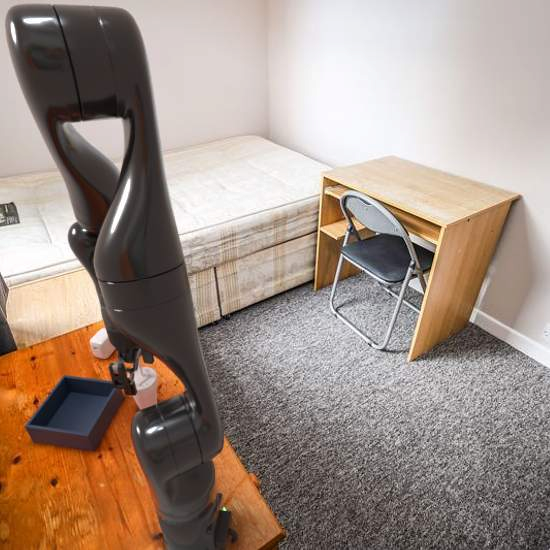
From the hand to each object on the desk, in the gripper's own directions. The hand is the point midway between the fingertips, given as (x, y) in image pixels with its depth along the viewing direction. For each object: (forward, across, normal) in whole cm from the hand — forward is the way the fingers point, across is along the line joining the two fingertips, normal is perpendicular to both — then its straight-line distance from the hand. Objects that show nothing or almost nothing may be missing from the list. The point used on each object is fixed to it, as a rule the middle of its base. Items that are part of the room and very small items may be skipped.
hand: (140, 377), depth 80 cm
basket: (+10, -5, +13) cm, 17 cm away
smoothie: (+10, 0, 0) cm, 10 cm away
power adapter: (+10, +17, +17) cm, 26 cm away
